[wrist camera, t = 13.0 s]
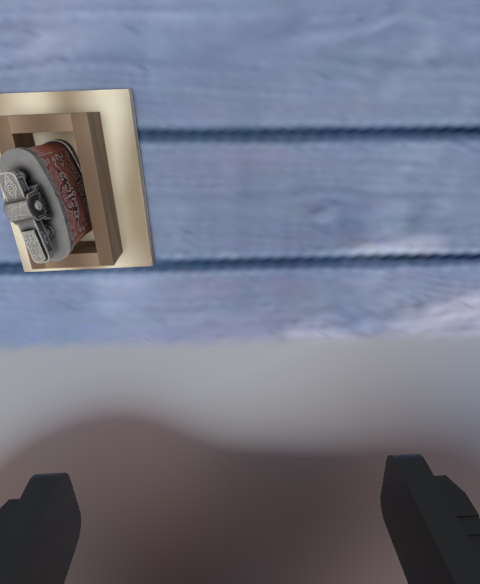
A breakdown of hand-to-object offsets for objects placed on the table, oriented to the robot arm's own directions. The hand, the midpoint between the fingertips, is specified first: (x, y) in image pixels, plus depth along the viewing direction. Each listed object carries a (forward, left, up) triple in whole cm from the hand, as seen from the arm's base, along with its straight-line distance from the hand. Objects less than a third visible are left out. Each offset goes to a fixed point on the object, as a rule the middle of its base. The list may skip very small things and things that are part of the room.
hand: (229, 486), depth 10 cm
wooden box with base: (+13, -2, -30) cm, 33 cm away
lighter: (+13, -2, -29) cm, 32 cm away
